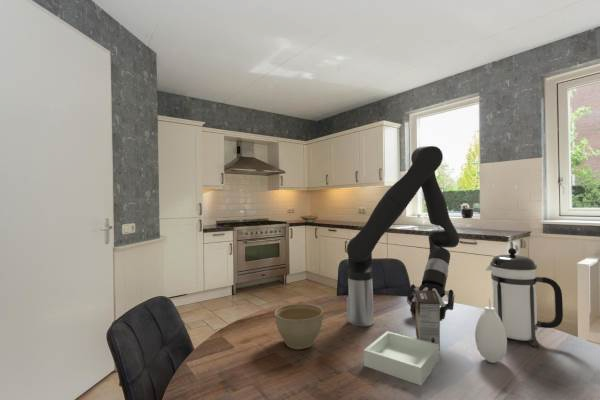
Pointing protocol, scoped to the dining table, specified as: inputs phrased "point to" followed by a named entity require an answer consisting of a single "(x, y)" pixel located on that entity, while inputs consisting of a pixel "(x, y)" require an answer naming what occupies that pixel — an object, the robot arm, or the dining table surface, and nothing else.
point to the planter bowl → (299, 324)
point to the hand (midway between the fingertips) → (426, 316)
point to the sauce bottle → (491, 335)
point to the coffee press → (520, 296)
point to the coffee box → (427, 316)
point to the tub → (402, 357)
